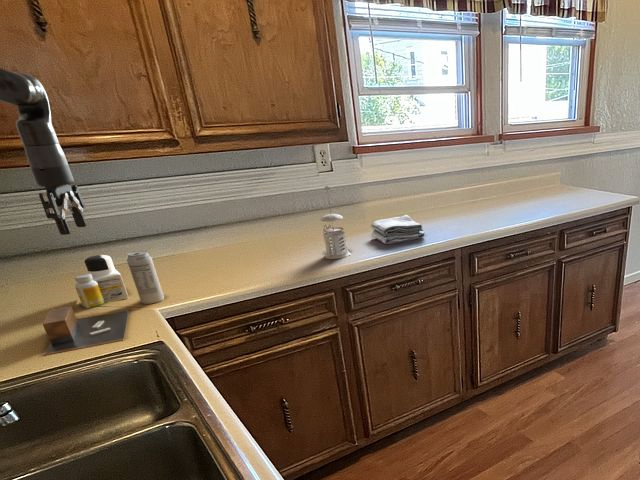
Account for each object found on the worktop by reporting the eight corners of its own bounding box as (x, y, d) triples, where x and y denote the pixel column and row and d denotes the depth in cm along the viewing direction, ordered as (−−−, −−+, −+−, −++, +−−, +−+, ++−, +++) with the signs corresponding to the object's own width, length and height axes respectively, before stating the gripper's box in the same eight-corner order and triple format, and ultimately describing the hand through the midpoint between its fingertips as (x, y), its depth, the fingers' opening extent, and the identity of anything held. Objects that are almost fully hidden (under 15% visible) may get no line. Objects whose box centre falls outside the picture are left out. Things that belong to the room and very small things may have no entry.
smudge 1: (98, 328, 135) (97, 326, 135) (91, 328, 135) (91, 327, 134) (104, 321, 139) (104, 320, 138) (98, 322, 138) (98, 321, 138)
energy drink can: (168, 298, 156) (152, 249, 149) (160, 305, 151) (144, 255, 144) (147, 300, 155) (130, 251, 149) (138, 307, 150) (120, 256, 143)
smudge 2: (91, 335, 130) (91, 334, 130) (89, 334, 131) (89, 333, 131) (111, 330, 133) (110, 328, 133) (109, 328, 134) (108, 327, 134)
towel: (371, 238, 216) (368, 219, 213) (410, 232, 225) (409, 213, 221) (385, 246, 205) (383, 226, 201) (426, 238, 213) (425, 219, 210)
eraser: (51, 344, 126) (42, 324, 124) (58, 329, 135) (50, 309, 132) (73, 340, 128) (65, 320, 126) (79, 325, 137) (71, 306, 134)
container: (99, 304, 153) (83, 262, 147) (95, 298, 158) (78, 256, 152) (129, 298, 157) (114, 256, 151) (124, 292, 163) (109, 251, 157)
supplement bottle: (79, 310, 149) (66, 278, 145) (91, 303, 154) (79, 272, 149) (98, 310, 149) (85, 278, 145) (109, 303, 154) (98, 272, 149)
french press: (354, 251, 198) (345, 183, 187) (342, 260, 188) (331, 189, 177) (330, 251, 200) (320, 183, 188) (317, 259, 190) (305, 189, 178)
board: (45, 358, 121) (43, 355, 121) (61, 324, 140) (59, 321, 140) (124, 343, 128) (123, 339, 127) (129, 312, 147) (128, 309, 146)
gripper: (47, 162, 133) (71, 225, 140) (14, 168, 120) (43, 238, 128) (79, 160, 134) (102, 223, 141) (50, 167, 122) (77, 235, 129)
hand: (74, 230), depth 135 cm, fingers open, 8 cm apart
